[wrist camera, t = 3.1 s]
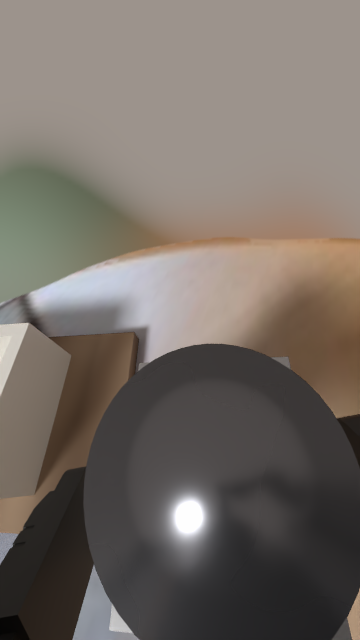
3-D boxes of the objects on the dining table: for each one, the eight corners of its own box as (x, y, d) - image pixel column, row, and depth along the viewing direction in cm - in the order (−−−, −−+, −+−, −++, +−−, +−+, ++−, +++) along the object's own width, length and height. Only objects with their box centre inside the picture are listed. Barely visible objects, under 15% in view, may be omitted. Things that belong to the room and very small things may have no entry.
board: (138, 339, 20) (134, 332, 19) (115, 534, 14) (107, 539, 13) (-35, 348, 22) (-47, 343, 21) (-123, 520, 16) (-147, 523, 15)
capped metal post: (249, 432, 15) (314, 322, 4) (260, 520, 13) (454, 776, 2) (191, 433, 16) (110, 334, 5) (191, 516, 14) (41, 706, 2)
